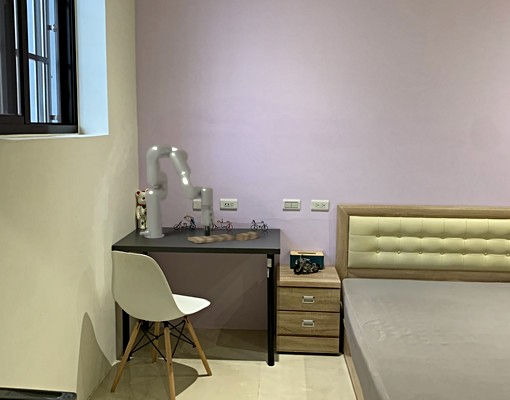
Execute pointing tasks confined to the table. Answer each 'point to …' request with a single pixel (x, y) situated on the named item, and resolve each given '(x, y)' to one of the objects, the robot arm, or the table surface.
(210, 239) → the plank
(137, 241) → the table surface
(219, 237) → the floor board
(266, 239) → the table surface
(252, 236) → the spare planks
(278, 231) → the table surface
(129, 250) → the table surface
